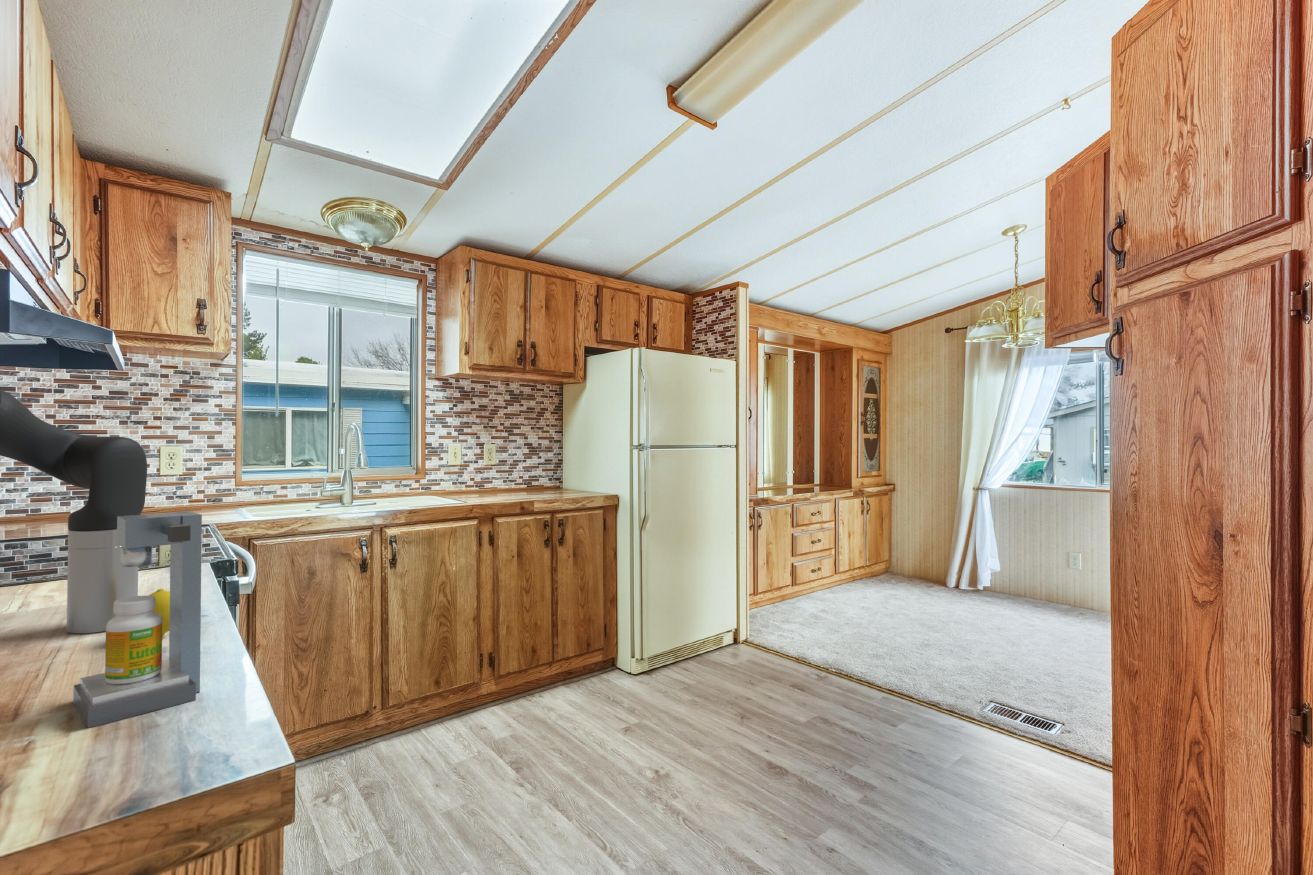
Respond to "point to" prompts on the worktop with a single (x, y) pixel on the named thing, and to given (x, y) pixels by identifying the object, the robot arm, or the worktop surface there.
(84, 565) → the robot arm
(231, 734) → the worktop surface
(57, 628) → the worktop surface
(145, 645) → the supplement bottle
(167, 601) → the lemon
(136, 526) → the arbor press
